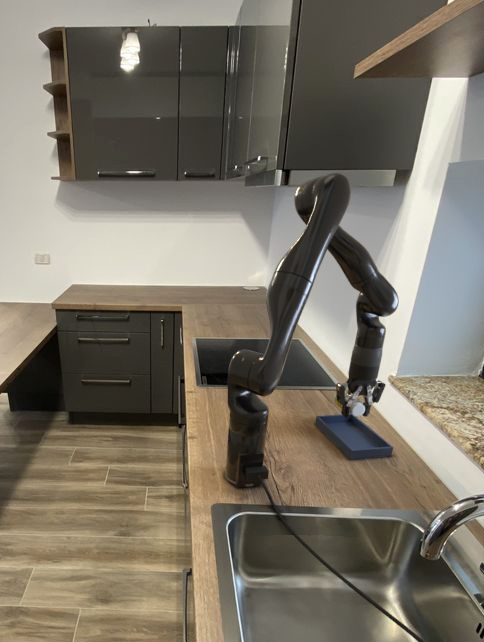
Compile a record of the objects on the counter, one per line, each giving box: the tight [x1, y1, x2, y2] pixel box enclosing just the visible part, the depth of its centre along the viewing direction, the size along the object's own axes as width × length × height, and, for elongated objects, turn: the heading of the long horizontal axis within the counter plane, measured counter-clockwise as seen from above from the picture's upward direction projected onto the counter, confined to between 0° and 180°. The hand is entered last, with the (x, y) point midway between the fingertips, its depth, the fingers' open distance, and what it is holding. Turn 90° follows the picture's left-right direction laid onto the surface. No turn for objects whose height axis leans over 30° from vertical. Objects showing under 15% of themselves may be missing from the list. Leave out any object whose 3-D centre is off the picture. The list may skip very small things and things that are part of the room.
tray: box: [314, 413, 394, 461], centre depth 131 cm, size 21×12×3 cm, turn 9°
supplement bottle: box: [333, 389, 365, 418], centre depth 130 cm, size 5×5×10 cm
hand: (354, 415), depth 128 cm, fingers closed on supplement bottle, 5 cm apart
